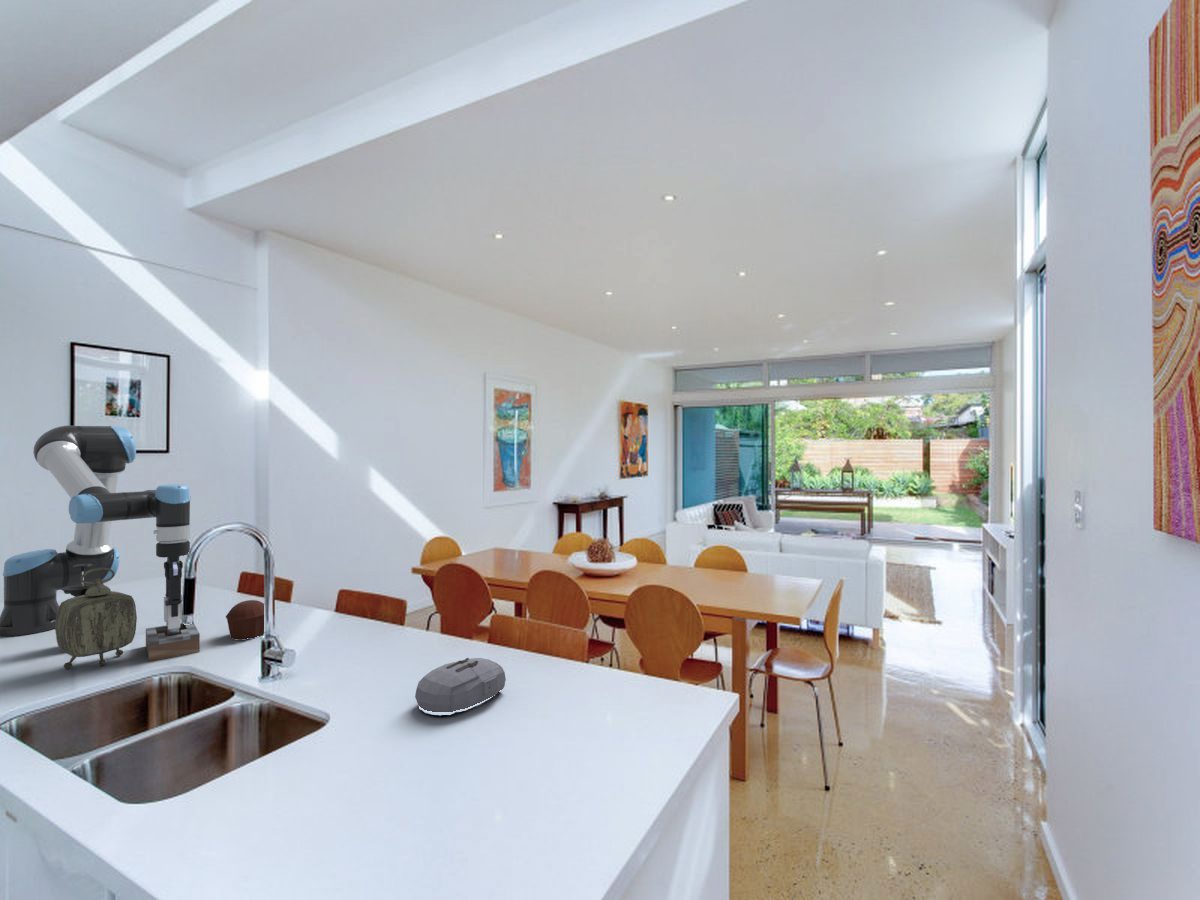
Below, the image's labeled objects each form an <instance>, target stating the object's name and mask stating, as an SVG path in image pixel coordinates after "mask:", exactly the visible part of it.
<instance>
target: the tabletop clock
mask: <svg viewBox="0 0 1200 900" xmlns="http://www.w3.org/2000/svg"><path fill="white" fill-rule="evenodd" d="M97 570H108V571H110V572H112V577H110V578H109V579H106V580H104V581H101V579H99V578H98V579H96V580H95V582H85V581H84V580H83V577H84V576H85V575H86V574H88V573H90V572H93V571H97ZM114 575H115V573H114V571H113V570H112V569H110V568H106V567H100V568H94V569H90V570H88V571H86V572H85V573H84V574H83V575H82V576H81V581H82V583H84V584H88V585H95V586H92V587H90V588H89V589H88V590H87V591H86V593H85V595H82V596H77V597H74V596H73V597H70V598H68V599H66V600H63V601H61V602H60V604H59V608H58V611H57V616H56V626H55V628H54V629H55V636H56V637H55V638H56V642H57V643H56V644H57V647H58V648H59V650H60V651H61V652H63V653H64V654H67V655H69V656H71V658H70V660H69V661H67V662H65V663H64V664H63V668H64V669H67V670H68V669H70V668H71V667H73V662H74V661H75V659H76V658H84V657H91V656H96V655H98V656H99V659H100V660H99V661H98V662H97V665H98V666H99V667H104V666H106V664H107V660H106V659H104V654H106V653H109V652H111V651H115V656H117V657H120V656H122V655H123V654H124V650H123V649H121V648H124V647H127V646H128V645H130V644H132V643H133V640H134V638H135V635H136V630H137V621H138V617H137V607H136V603H135V602H136V601H135V599H134V597H133V596H132V595H129V594H126V593H123V592H119V591H115V590H114V591H113V590H111V588H110V587H109V586H107V585H105V583H108V582H109V581H111V580H112V579H113V578H114V577H115V576H116V575H115V576H114ZM102 583H103V584H104V585H101V584H102Z"/></svg>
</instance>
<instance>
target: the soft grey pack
mask: <svg viewBox="0 0 1200 900" xmlns="http://www.w3.org/2000/svg"><path fill="white" fill-rule="evenodd" d="M506 680H507V679H506V673H505V670H504V668H503V667H502V666H501V664H499V663H497V662H495V661H493V660H490V659H487V658H483V657H474V658H472V657H471V658H469V657H466V658H465V659H462V660H458V661H455V662H454V661H453V662H449V663H445V664H443V665H441V666H439V667H436V668H434V669H432V670H430V671H429V672H428V673H427V674H425V675H424V676H423V677H422V678H421V679H420V680H419V681H418V682H417V683H418V684H417V685H416V689H415V696H414V698H415V701H416V703H417V706H418V705H419V706H420V707H421V708H423V709H424V710H427V711H432V712H453V711H456V710H460V709H465V708H468V707H470V706H473V705H475V704H477V703H480V702H482V701H484V700H486V699H488V698H490V697H492V696H494V695H496V694H497V693H498V692H499V691H500V690H502V689H504V688H505V685H506ZM502 691H503V690H502ZM498 694H499V693H498ZM498 694H497V695H498ZM497 695H496V696H497Z"/></svg>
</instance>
